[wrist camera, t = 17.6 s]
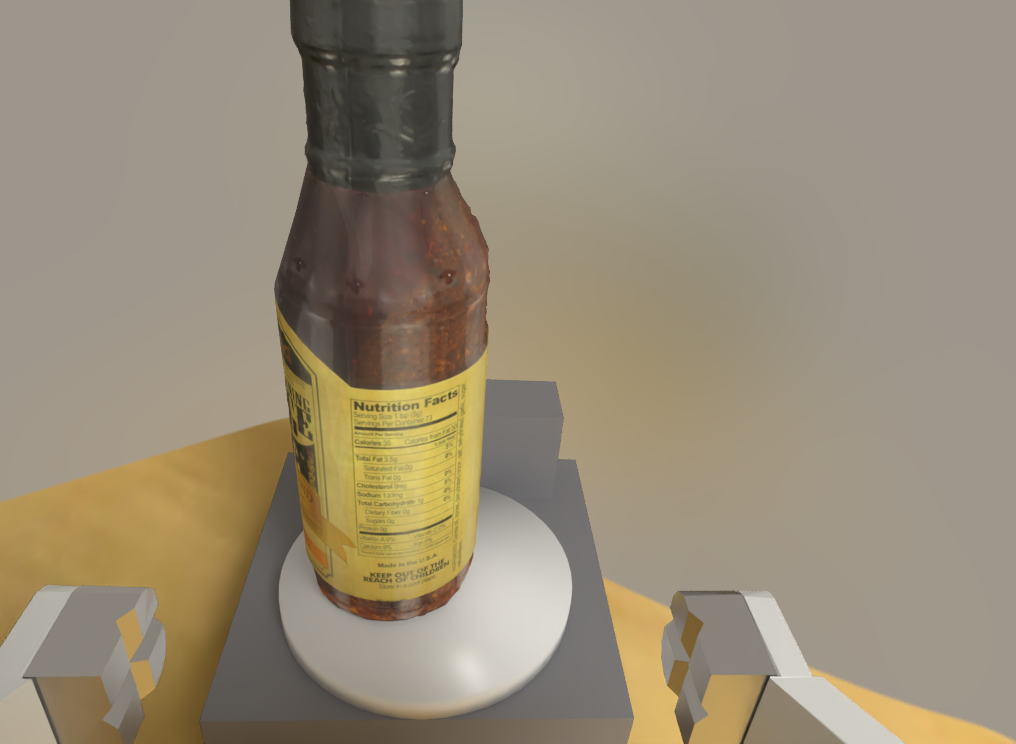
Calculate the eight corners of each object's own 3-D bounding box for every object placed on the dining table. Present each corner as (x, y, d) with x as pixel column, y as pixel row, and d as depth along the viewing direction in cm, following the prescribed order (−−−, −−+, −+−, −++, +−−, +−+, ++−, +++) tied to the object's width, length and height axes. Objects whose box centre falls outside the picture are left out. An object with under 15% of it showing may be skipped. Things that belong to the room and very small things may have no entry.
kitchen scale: (211, 776, 24) (177, 623, 21) (294, 495, 37) (282, 368, 33) (619, 770, 26) (658, 625, 22) (567, 501, 38) (586, 379, 34)
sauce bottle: (334, 505, 30) (292, -38, 20) (482, 518, 30) (516, -21, 20) (283, 633, 25) (188, -29, 15) (465, 651, 25) (498, -5, 14)
